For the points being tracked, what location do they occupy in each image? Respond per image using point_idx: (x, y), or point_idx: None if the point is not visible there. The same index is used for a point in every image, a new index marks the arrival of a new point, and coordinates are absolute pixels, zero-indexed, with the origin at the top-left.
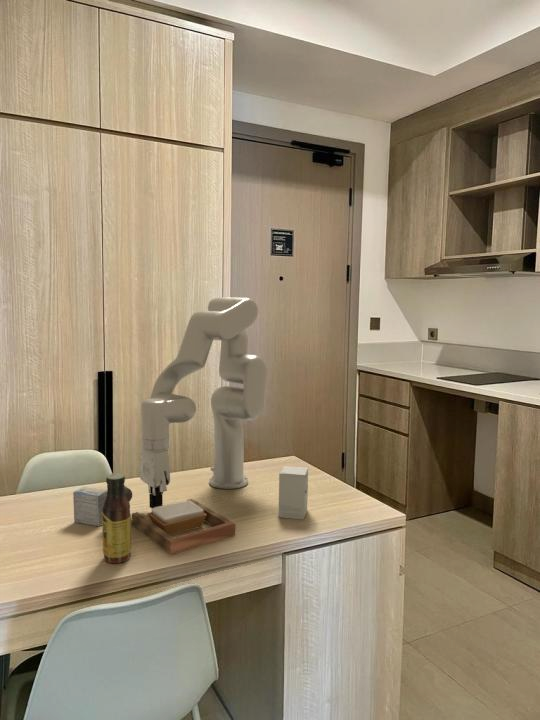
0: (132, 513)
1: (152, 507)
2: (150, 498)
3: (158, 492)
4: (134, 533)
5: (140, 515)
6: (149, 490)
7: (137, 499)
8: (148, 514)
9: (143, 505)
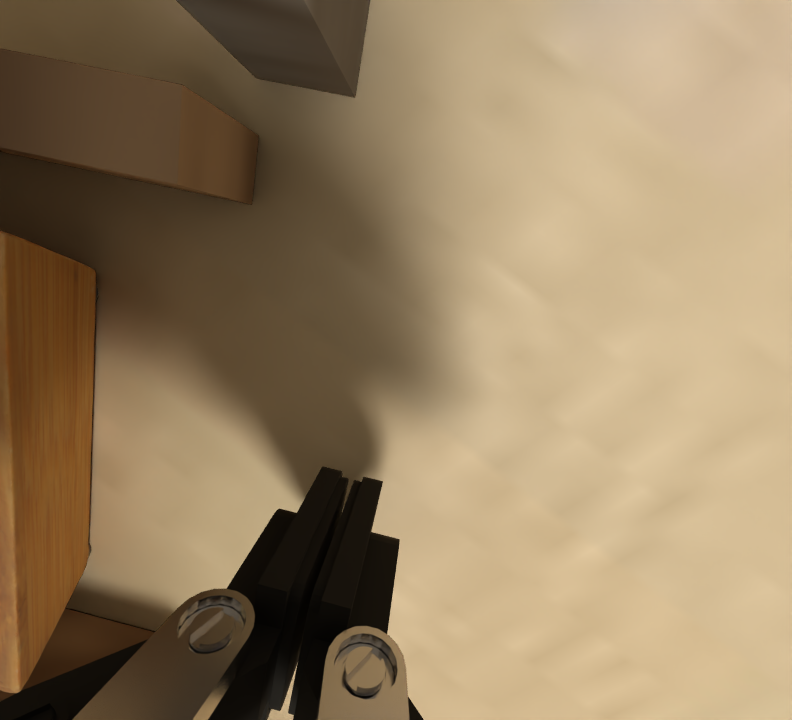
0: (173, 91)
1: (320, 477)
2: (338, 552)
3: (81, 677)
4: (43, 5)
5: (43, 136)
6: (377, 682)
7: (759, 589)
8: (2, 232)
9: (578, 524)
